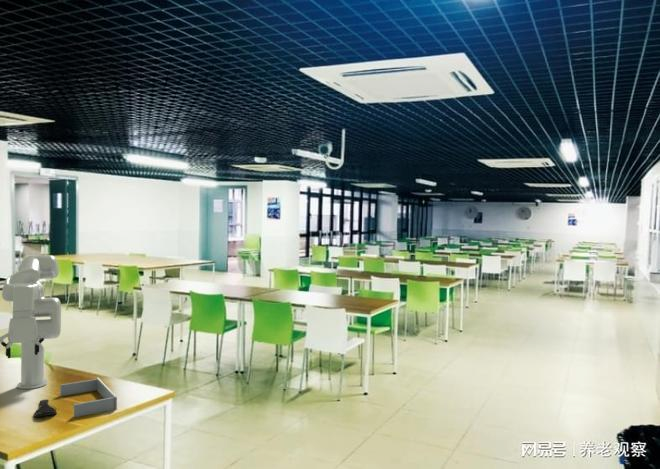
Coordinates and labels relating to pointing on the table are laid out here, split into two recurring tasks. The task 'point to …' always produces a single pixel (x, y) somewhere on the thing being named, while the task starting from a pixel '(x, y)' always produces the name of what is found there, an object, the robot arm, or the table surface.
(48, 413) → the hairbrush
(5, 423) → the table surface
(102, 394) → the box
